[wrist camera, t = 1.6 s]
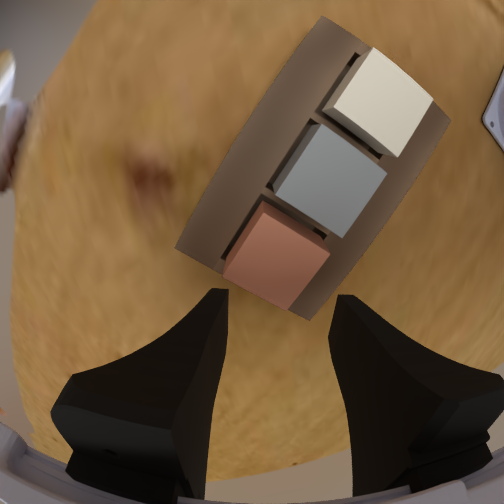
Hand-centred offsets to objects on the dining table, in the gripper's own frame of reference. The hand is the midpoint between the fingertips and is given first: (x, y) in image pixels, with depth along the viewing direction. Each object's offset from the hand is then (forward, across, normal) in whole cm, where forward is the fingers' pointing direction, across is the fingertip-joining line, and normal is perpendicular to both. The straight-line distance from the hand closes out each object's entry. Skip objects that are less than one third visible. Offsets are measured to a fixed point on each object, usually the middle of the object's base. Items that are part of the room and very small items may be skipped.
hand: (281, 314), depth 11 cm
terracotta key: (+7, 0, 0) cm, 7 cm away
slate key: (+7, -2, -4) cm, 9 cm away
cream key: (+7, -5, -9) cm, 12 cm away
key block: (+10, -2, -4) cm, 11 cm away
